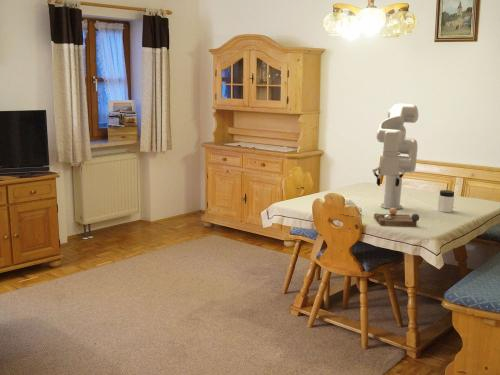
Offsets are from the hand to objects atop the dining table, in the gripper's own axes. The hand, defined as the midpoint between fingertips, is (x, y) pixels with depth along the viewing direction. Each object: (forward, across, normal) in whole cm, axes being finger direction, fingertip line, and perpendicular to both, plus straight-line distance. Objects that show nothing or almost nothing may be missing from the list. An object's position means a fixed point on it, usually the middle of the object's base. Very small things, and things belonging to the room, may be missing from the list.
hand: (387, 185), depth 302 cm
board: (+20, -5, 0) cm, 21 cm away
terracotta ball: (+16, -6, -6) cm, 18 cm away
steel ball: (+18, -1, 0) cm, 18 cm away
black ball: (+15, -14, +7) cm, 22 cm away
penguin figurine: (+20, +15, -17) cm, 30 cm away
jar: (+20, -44, -32) cm, 58 cm away
